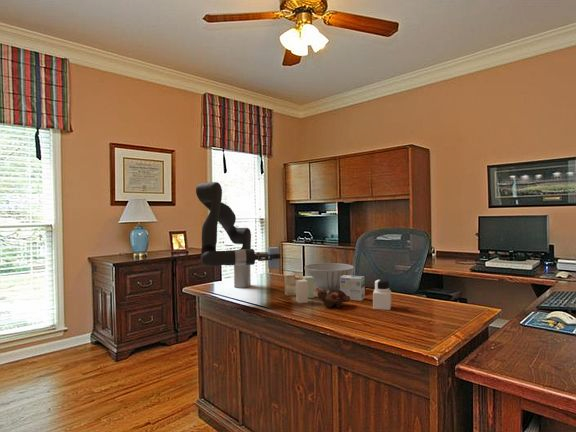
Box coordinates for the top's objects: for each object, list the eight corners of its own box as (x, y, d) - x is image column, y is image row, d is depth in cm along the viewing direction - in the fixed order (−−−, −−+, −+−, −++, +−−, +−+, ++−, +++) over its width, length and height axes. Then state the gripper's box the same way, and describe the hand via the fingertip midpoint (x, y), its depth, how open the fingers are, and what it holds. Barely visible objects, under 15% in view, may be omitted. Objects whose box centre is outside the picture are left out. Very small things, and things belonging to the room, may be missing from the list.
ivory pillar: (296, 301, 175) (295, 280, 175) (304, 300, 177) (304, 279, 176) (298, 303, 171) (298, 281, 171) (307, 302, 172) (307, 281, 172)
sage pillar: (302, 296, 185) (302, 276, 185) (311, 295, 186) (310, 275, 186) (305, 298, 181) (305, 277, 180) (314, 297, 182) (313, 277, 182)
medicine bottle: (391, 306, 164) (390, 279, 164) (390, 310, 158) (389, 282, 157) (374, 305, 167) (374, 278, 166) (372, 309, 160) (372, 281, 160)
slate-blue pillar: (268, 267, 182) (268, 247, 181) (276, 267, 183) (276, 247, 183) (270, 269, 177) (270, 248, 177) (279, 268, 179) (278, 248, 178)
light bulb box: (365, 298, 180) (364, 275, 180) (361, 301, 174) (361, 278, 173) (343, 296, 184) (343, 274, 184) (339, 299, 178) (339, 276, 178)
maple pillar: (284, 293, 191) (284, 274, 190) (293, 293, 192) (292, 274, 192) (287, 295, 186) (287, 275, 186) (295, 295, 188) (295, 275, 187)
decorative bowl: (342, 296, 183) (342, 272, 183) (295, 291, 197) (295, 268, 197) (361, 286, 206) (361, 264, 206) (318, 282, 220) (318, 261, 220)
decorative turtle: (313, 305, 167) (314, 287, 168) (343, 304, 172) (344, 287, 172) (321, 309, 158) (322, 290, 159) (353, 308, 163) (354, 290, 163)
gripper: (246, 250, 169) (282, 249, 174) (241, 247, 183) (275, 246, 188) (246, 267, 169) (282, 265, 174) (241, 263, 183) (275, 261, 188)
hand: (278, 255), depth 181 cm, fingers closed on slate-blue pillar, 4 cm apart
